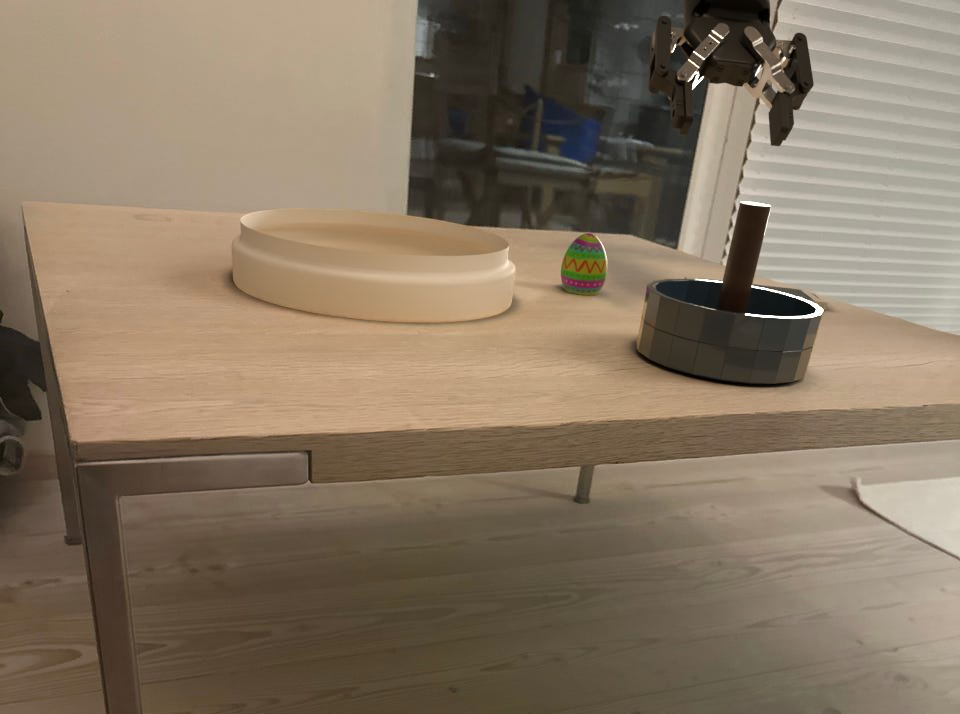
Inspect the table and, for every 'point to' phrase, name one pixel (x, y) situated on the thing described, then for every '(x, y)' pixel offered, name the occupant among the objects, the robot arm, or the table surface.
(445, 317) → the cream round tray
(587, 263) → the egg
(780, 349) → the bowl
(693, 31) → the robot arm
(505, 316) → the table surface
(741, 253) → the muddler
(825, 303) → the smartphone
